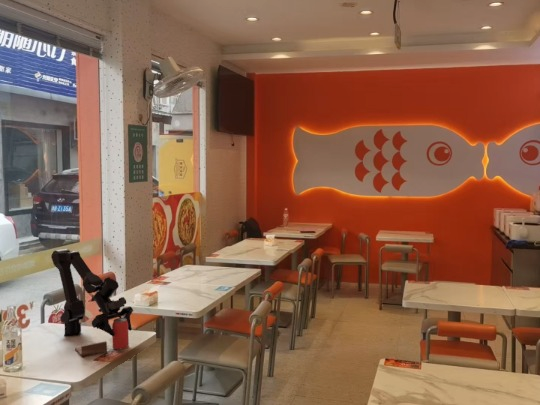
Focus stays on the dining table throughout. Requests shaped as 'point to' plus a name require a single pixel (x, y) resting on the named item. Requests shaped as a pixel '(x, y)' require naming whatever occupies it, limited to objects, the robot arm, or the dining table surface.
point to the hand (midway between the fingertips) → (122, 332)
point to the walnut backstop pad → (92, 349)
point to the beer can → (120, 333)
